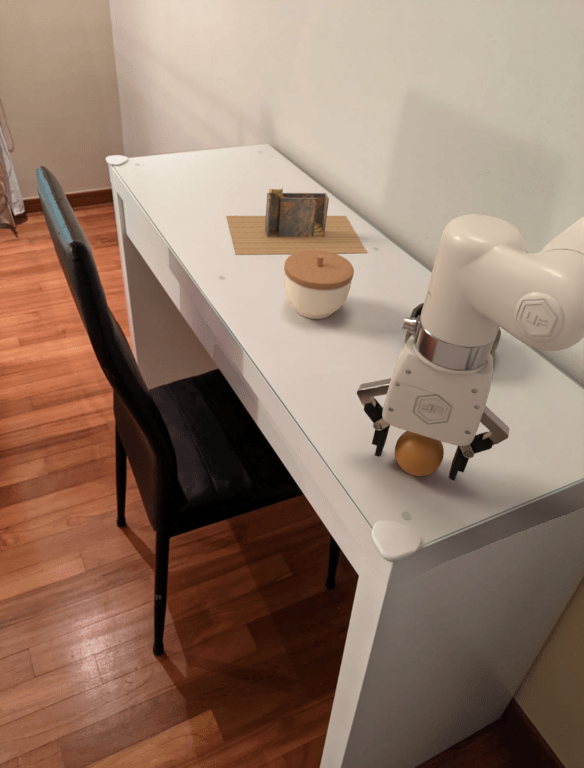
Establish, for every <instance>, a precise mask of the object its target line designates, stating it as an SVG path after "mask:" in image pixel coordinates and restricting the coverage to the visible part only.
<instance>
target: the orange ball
mask: <svg viewBox="0 0 584 768" xmlns="http://www.w3.org/2000/svg"><path fill="white" fill-rule="evenodd" d="M444 450H445V448H444V445H443V442H442V441H439V440H436V439H432V438H429V437H426V436H423V435H419V434H416V433H413V432H410V431H406V430H405V431H404V432H402V434H401V435H400V436H399V437H398V438H397V440H396V444H395V445H394V456H395V460H396V462H397V464H398V466H399V467H400V468H401V469H402V470H403V471H404V472H405V473H407V474H410V475H411V476H416V477H424V476H428V475H430V474H432V473H434V472H435V471H437V469H438V468H440V466H441V464H442V462H443V459H444V454H445V451H444Z"/></svg>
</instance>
